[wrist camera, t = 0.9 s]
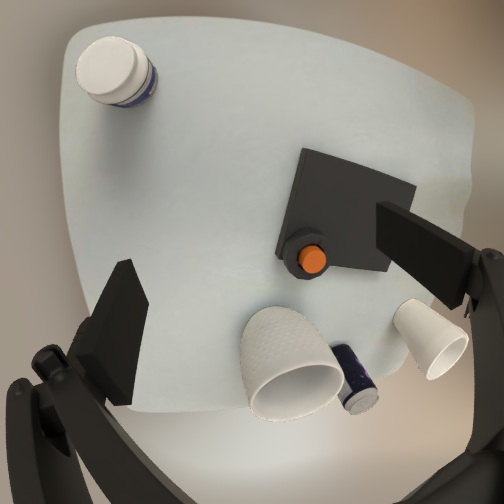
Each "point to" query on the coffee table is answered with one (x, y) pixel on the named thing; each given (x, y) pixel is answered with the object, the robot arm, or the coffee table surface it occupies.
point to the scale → (337, 213)
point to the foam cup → (429, 337)
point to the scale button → (312, 259)
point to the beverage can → (354, 382)
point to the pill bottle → (116, 73)
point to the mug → (287, 366)
